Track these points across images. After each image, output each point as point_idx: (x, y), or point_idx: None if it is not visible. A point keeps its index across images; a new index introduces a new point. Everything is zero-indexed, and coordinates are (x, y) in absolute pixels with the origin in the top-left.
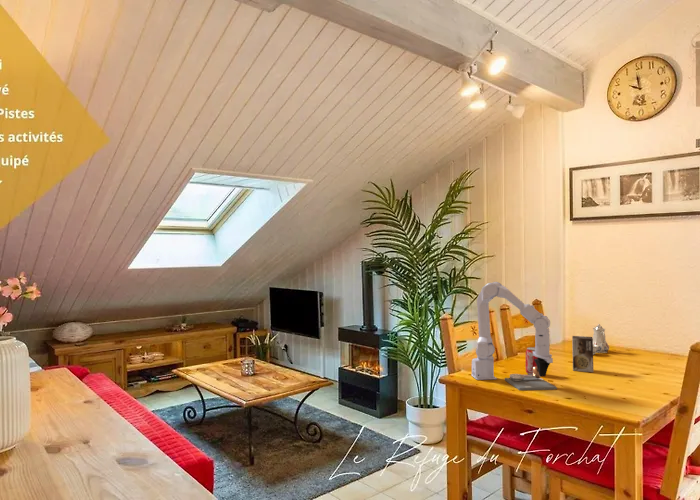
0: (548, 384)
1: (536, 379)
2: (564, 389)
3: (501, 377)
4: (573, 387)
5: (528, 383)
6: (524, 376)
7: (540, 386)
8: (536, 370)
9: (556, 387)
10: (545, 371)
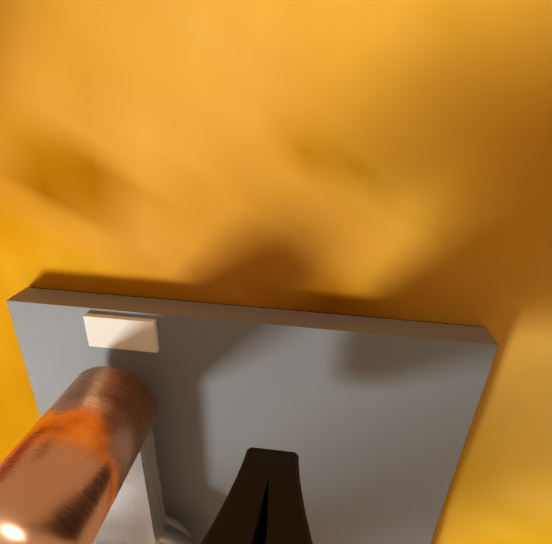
0: (357, 372)
1: None
2: (519, 232)
3: None
4: (474, 13)
5: None
6: (156, 542)
7: (412, 480)
8: (102, 519)
9: (496, 345)
10: (301, 539)
